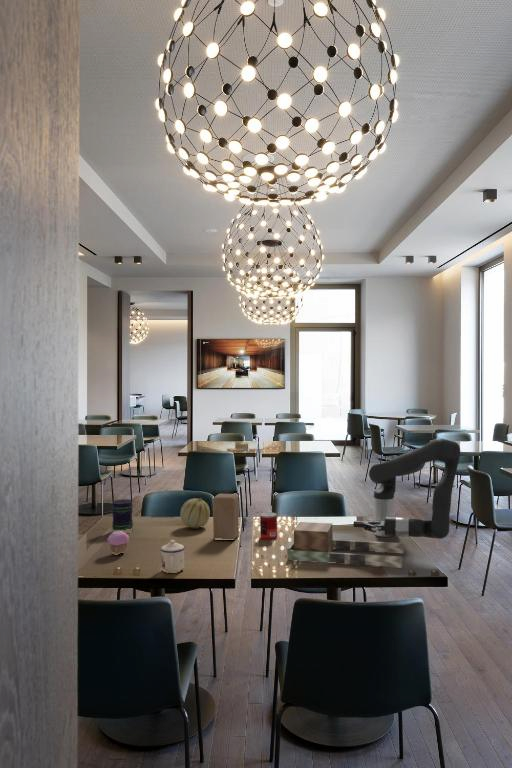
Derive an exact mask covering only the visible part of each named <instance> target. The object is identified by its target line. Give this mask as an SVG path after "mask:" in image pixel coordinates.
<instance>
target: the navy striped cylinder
mask: <svg viewBox="0 0 512 768" xmlns="http://www.w3.org/2000/svg"><path fill="white" fill-rule="evenodd" d="M111 504H112V505H111V512H112V513H111V514H112V526H111V527H112V530H113V529H114V530H126V529H131V528H132V527H133V528H134V522H133V500H132V499H116V500H113V501H112V502H111Z"/></svg>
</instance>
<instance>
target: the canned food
mask: <svg viewBox="0 0 512 768" xmlns="http://www.w3.org/2000/svg"><path fill="white" fill-rule="evenodd" d="M277 516H278V514H277V513H276V512H263V513H262V512H261V513H260V515H259V523H260V524H259V526H260V528H259V530H260V531H259V532H260V540H261V539H262V540H264V541H273V540H275V539H277V537H278V517H277Z"/></svg>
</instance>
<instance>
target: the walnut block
mask: <svg viewBox="0 0 512 768" xmlns="http://www.w3.org/2000/svg"><path fill="white" fill-rule="evenodd" d="M333 536H334V535H333V522H332V523H331V522H329V523H328V522H311V521H310V522H309V521H307V522H306V521H300V522H298V523H297V525H296V527H294V529H293V540H294V550H298V551H315V552H332V551H333V552H334V550H333V538H334V537H333ZM333 552H332V553H333Z"/></svg>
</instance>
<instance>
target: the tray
mask: <svg viewBox="0 0 512 768" xmlns="http://www.w3.org/2000/svg"><path fill="white" fill-rule="evenodd" d="M334 548H335V549H345V550H344V551H351V550H359V551H358V552H368V551H371V553H372V551H375V552H374V553H385V552H387V553H388V554H404V543H403V542H388V541H387V542H385V541H367V540H366V541H365V540H351V539H350V540H347V539H333V549H334ZM286 550H287V552H286V553H287V554H286V559H287V560H297V561H296V562H302V561H317V562H336V563H345V564H344V565H349V564H359V565H358V566H364V565H376V566H375V567H380V566H385V568H397V569H399V568H400V569H401V568H403V556H399V555H398V556H396V555H379V554H366V553H365V554H362V553H345V552H315V551H298V550H294V539H293V540H292V541H291V543H290V544H289V545H288V547H287V548H286ZM317 562H316V563H317Z"/></svg>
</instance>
